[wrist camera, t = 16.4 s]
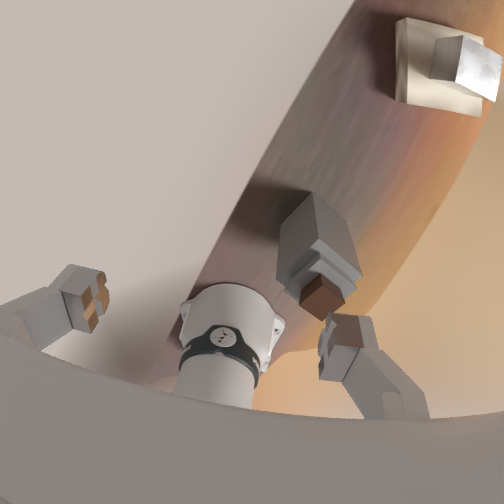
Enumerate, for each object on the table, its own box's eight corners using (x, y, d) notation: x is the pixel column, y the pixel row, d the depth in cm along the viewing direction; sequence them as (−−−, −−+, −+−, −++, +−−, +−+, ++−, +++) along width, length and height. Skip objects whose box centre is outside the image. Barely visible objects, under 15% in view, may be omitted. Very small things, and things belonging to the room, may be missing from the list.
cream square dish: (463, 111, 35) (480, 117, 30) (394, 100, 36) (406, 103, 32) (465, 39, 29) (483, 37, 25) (394, 22, 30) (406, 17, 26)
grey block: (465, 94, 29) (494, 101, 24) (428, 78, 30) (455, 81, 24) (472, 56, 27) (503, 57, 21) (436, 38, 27) (463, 34, 21)
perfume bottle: (312, 191, 44) (322, 262, 29) (346, 221, 45) (369, 301, 30) (280, 224, 47) (273, 305, 32) (314, 251, 49) (321, 338, 33)
